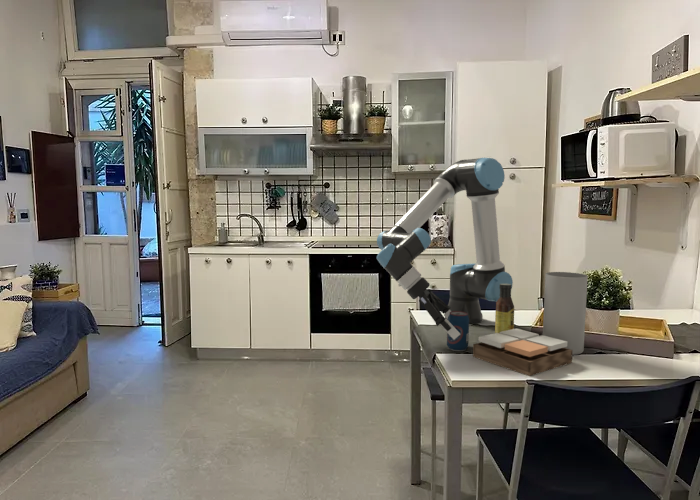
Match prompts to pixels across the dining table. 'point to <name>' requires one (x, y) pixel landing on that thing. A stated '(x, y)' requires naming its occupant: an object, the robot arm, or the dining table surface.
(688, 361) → the dining table surface
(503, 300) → the sauce bottle
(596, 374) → the dining table surface
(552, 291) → the cylinder vase
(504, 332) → the key
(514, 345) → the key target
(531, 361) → the keypad
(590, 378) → the dining table surface
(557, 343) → the key
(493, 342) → the key
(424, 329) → the dining table surface
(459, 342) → the soda can
